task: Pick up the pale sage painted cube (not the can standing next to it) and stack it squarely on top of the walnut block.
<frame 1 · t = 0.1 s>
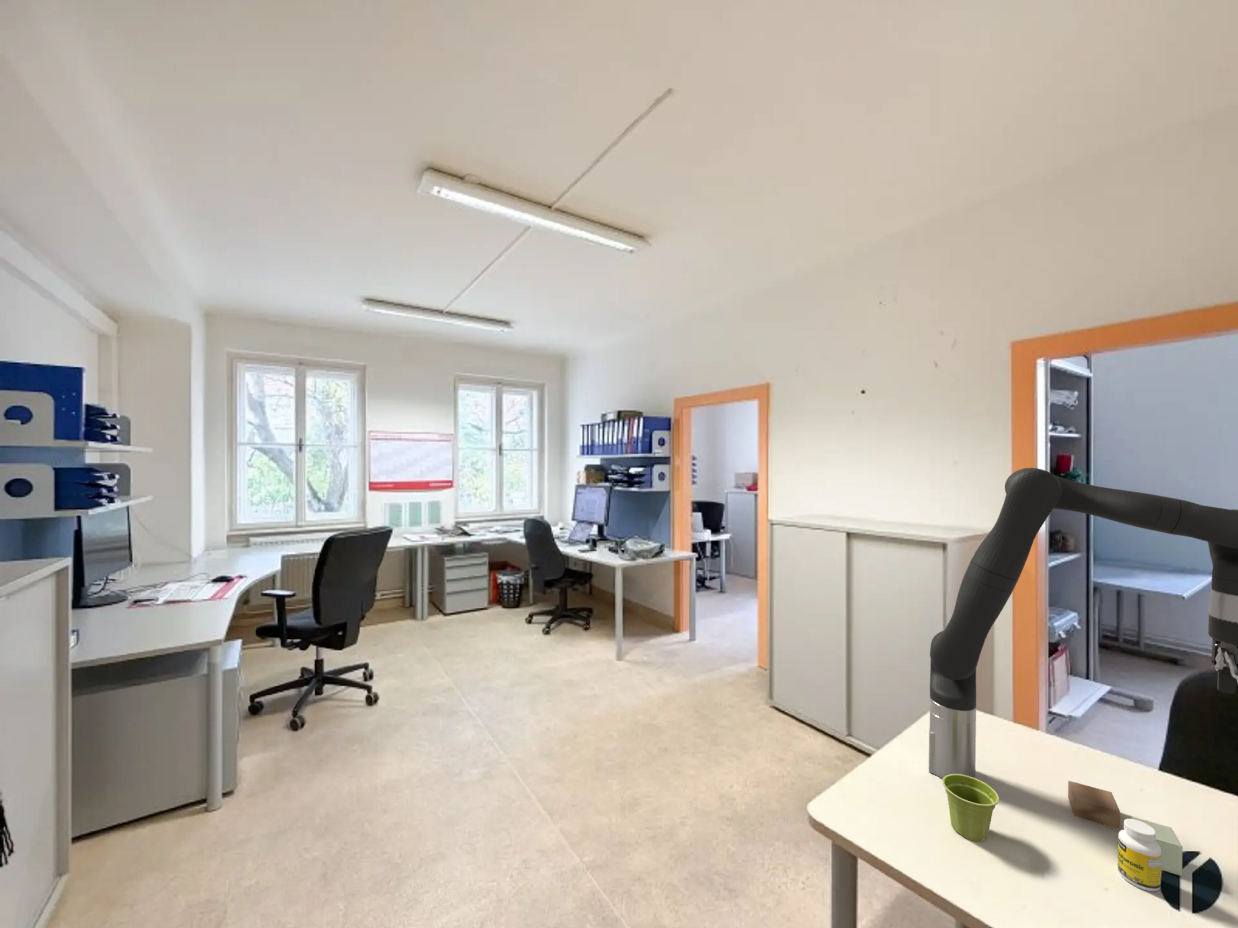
hand: (1236, 701, 96), 29 cm above the table, fingers open, 8 cm apart
sage cube: (1155, 859, 96), on the table
supplement bottle: (1138, 880, 91), on the table
plant pot: (969, 831, 103), on the table
walnut block: (1092, 813, 108), on the table
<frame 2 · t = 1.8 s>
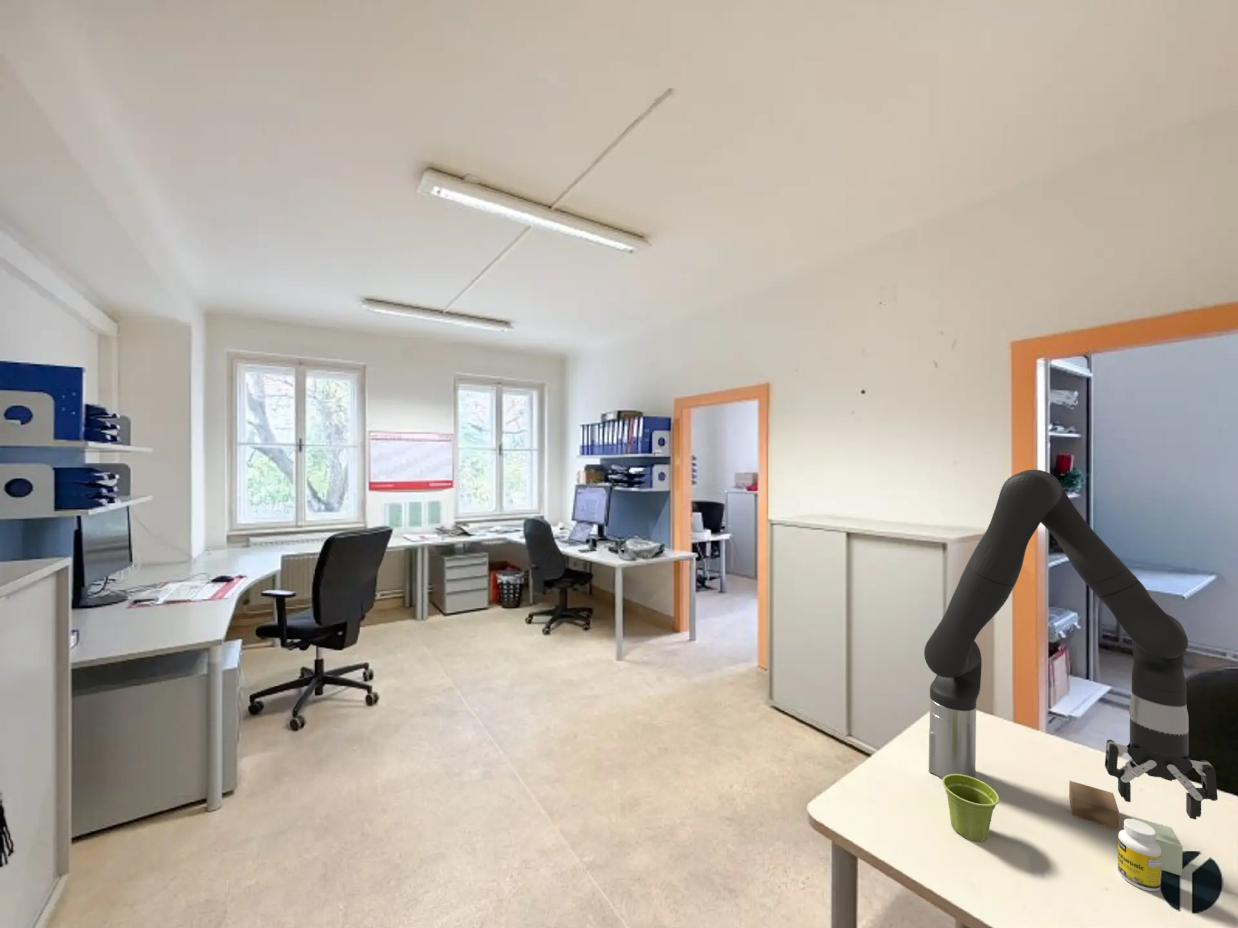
hand: (1158, 807, 95), 10 cm above the table, fingers open, 8 cm apart
nothing on the table moved.
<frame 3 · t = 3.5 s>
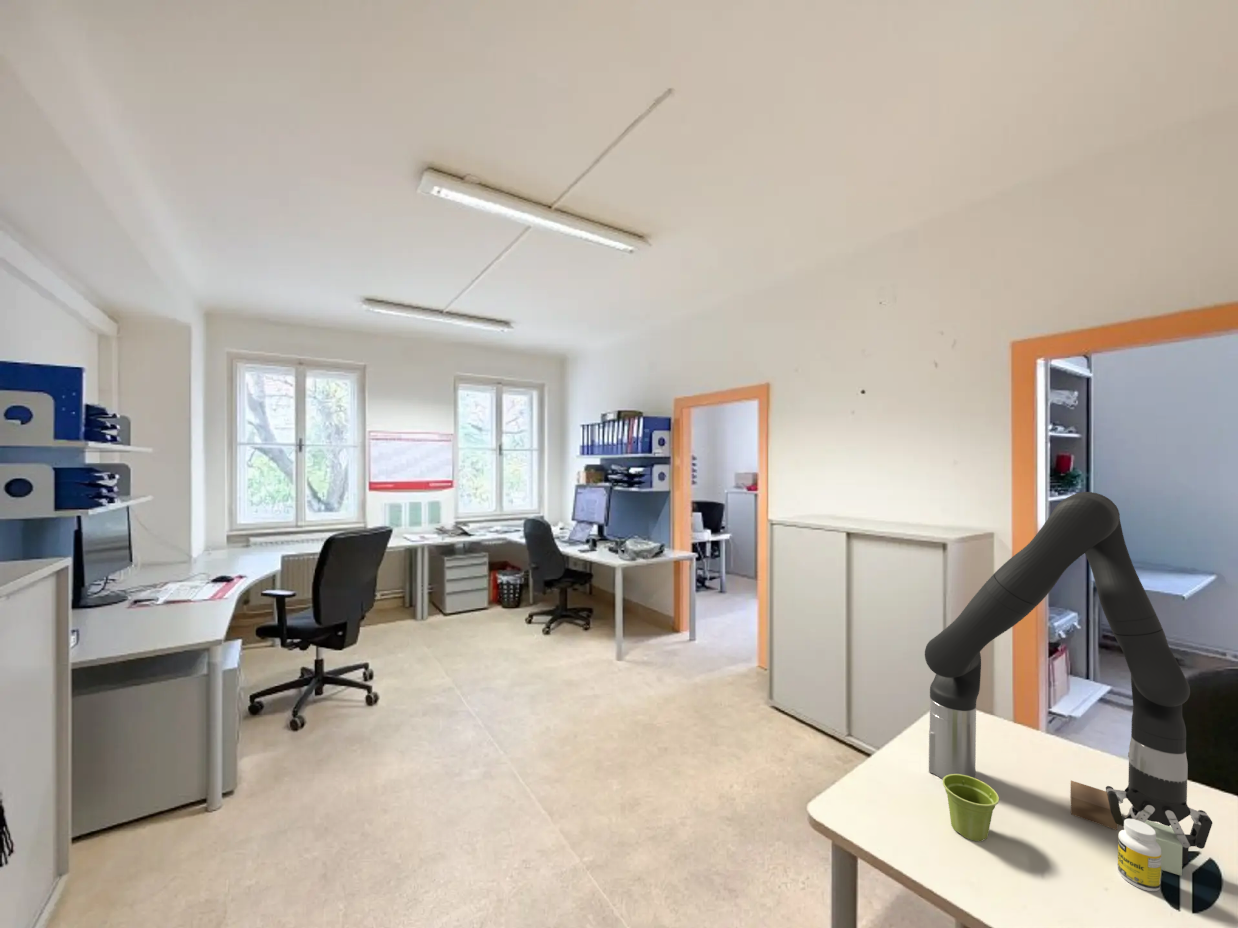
hand: (1155, 854, 96), 1 cm above the table, fingers closed on sage cube, 5 cm apart
sage cube: (1155, 858, 96), on the table, touching gripper
everything else where it was.
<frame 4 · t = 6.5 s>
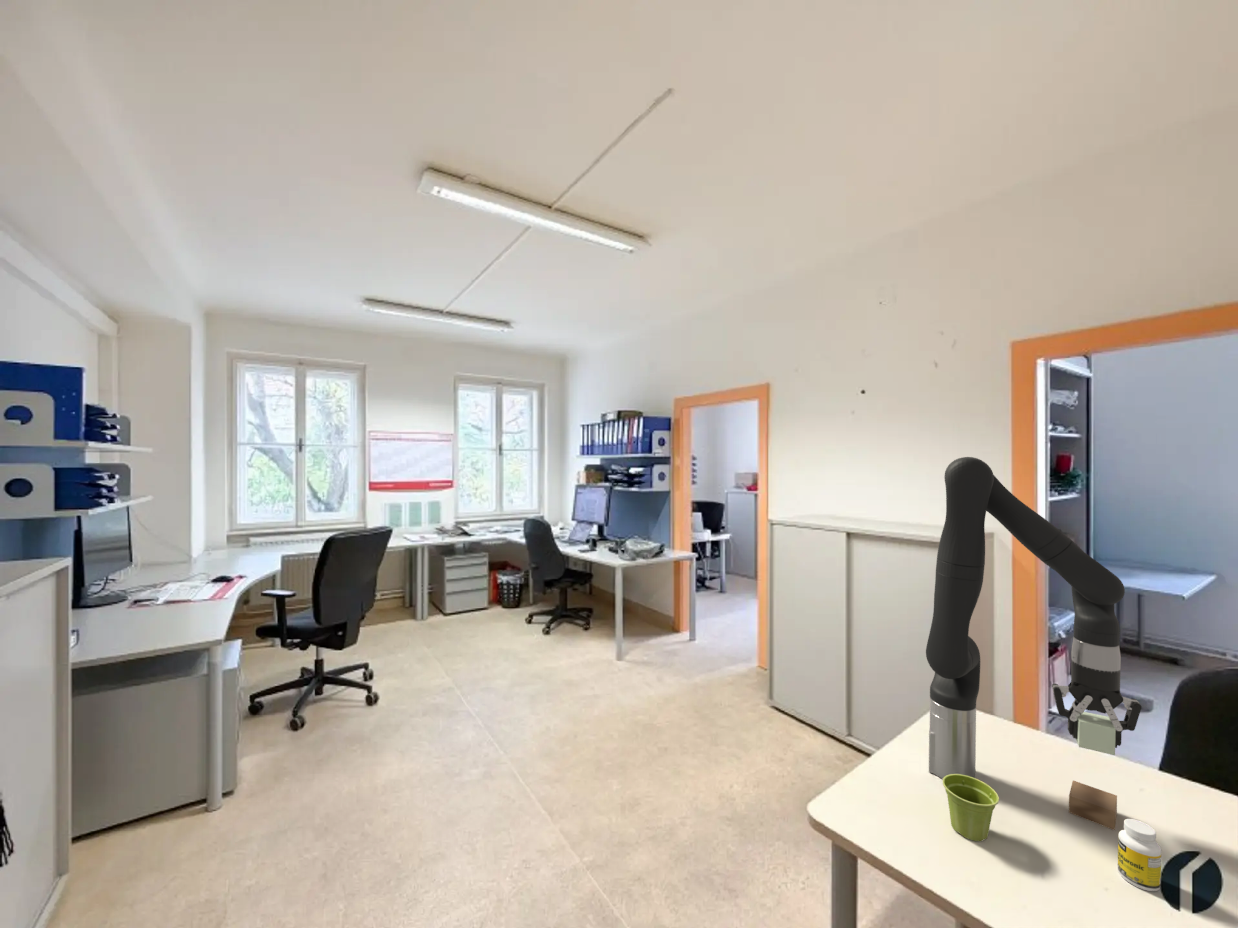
hand: (1093, 740, 107), 15 cm above the table, fingers closed on sage cube, 5 cm apart
sage cube: (1093, 744, 107), point 15 cm above the table, touching gripper
everything else where it was.
when the fingers open (6 cm above the table, at t = 9.3 s): sage cube drops 1 cm, point 4 cm above the table.
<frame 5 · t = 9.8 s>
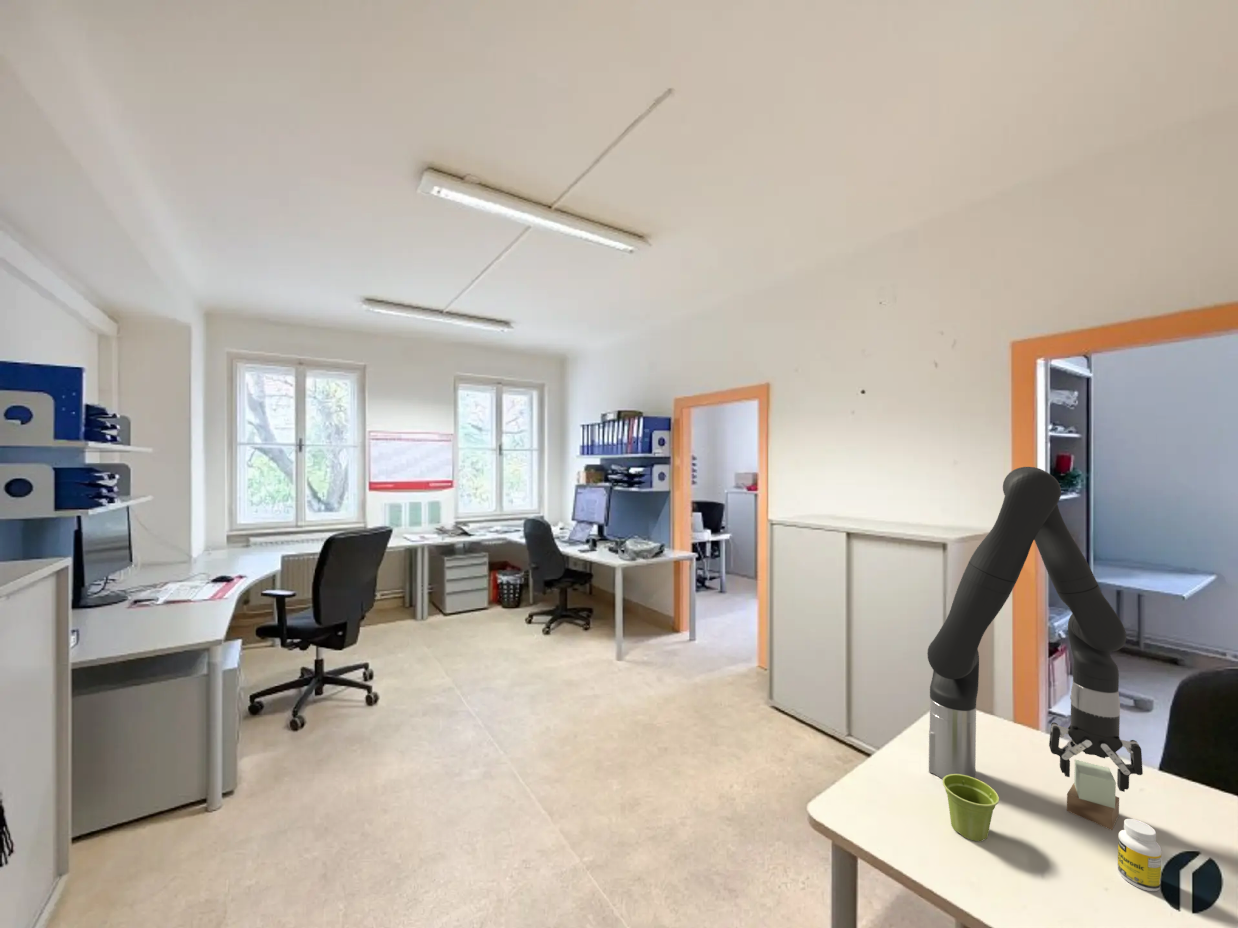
hand: (1093, 781, 108), 7 cm above the table, fingers open, 8 cm apart
sage cube: (1093, 795, 108), point 4 cm above the table
everything else where it was.
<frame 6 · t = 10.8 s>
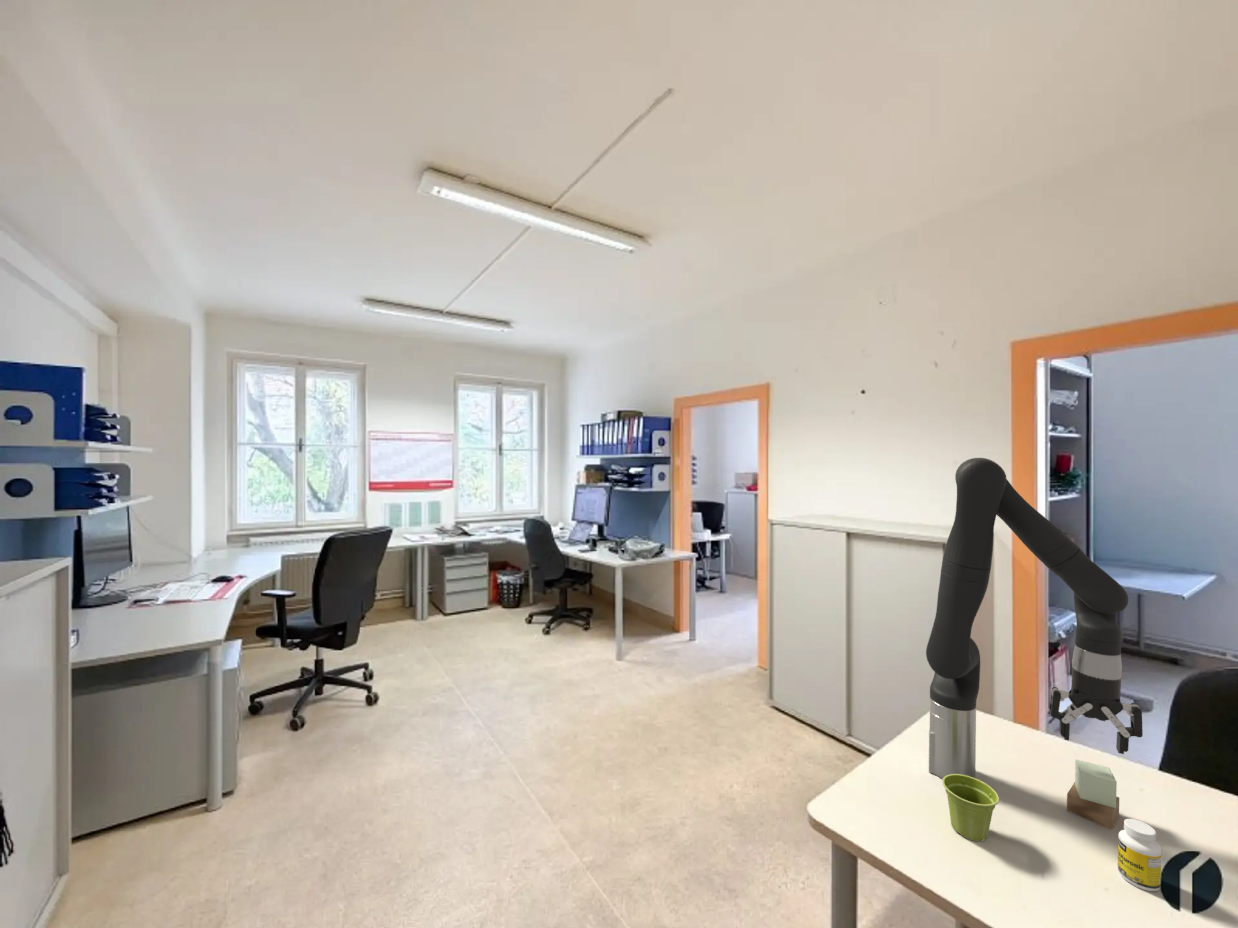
hand: (1092, 744, 108), 14 cm above the table, fingers open, 8 cm apart
sage cube: (1094, 795, 108), point 4 cm above the table, touching walnut block
walnut block: (1092, 814, 108), on the table, touching sage cube
everything else where it was.
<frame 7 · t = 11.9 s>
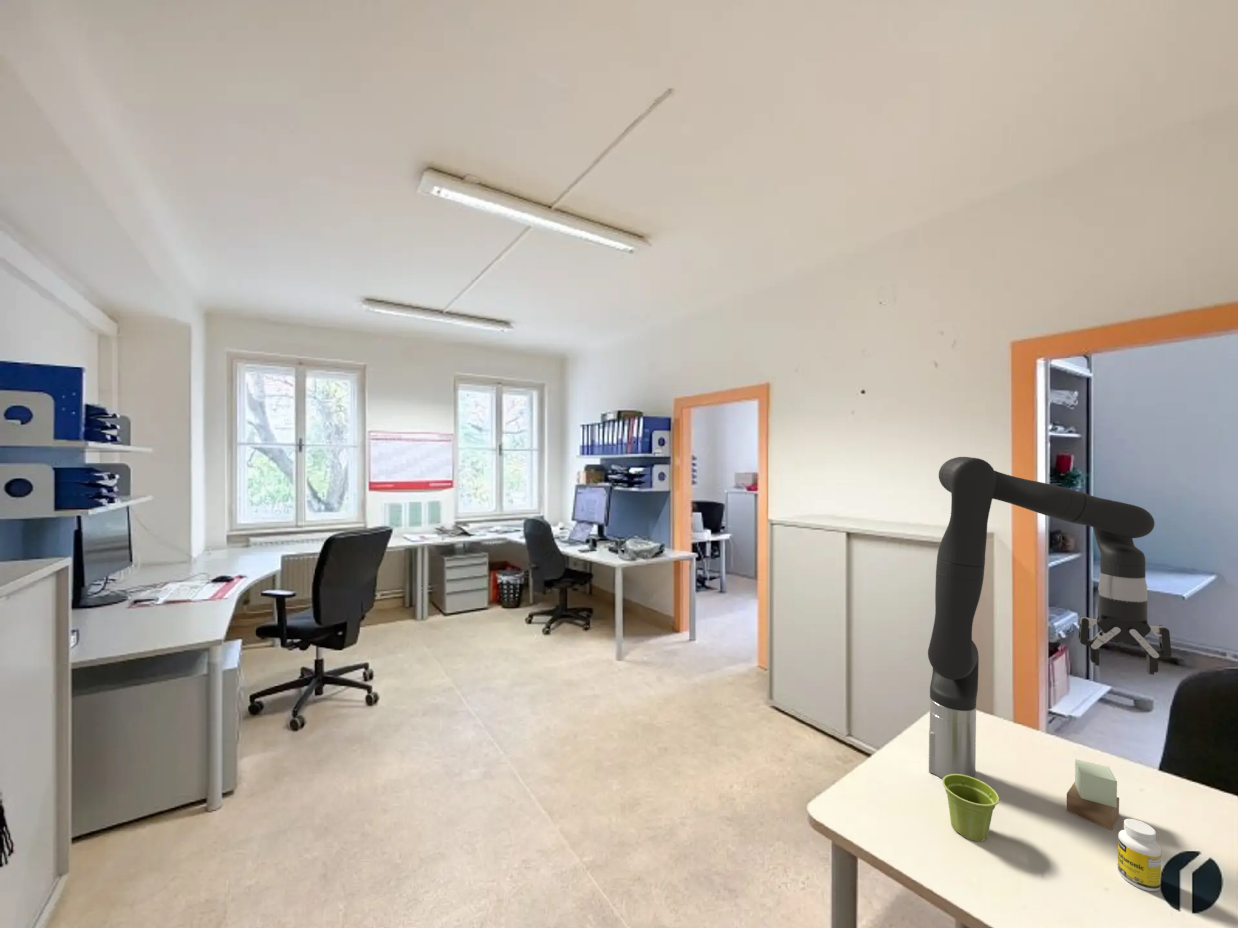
hand: (1122, 668, 111), 29 cm above the table, fingers open, 8 cm apart
nothing on the table moved.
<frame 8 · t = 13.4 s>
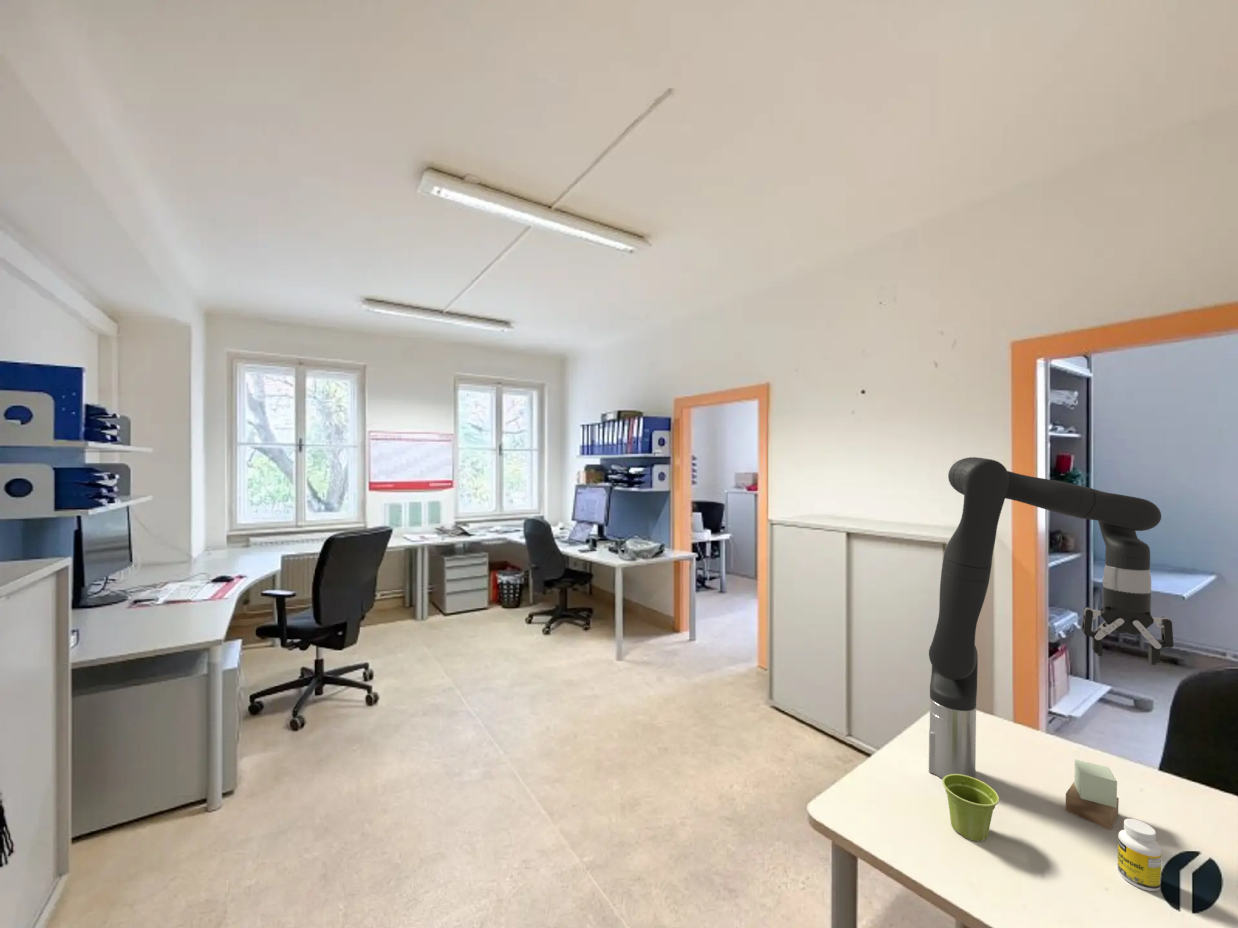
hand: (1125, 659, 113), 30 cm above the table, fingers open, 8 cm apart
nothing on the table moved.
at the end: sage cube 0.6 cm off-centre on the walnut block, point 4.0 cm above the walnut block's base; sage cube tilted 0°; the gripper is holding nothing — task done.
